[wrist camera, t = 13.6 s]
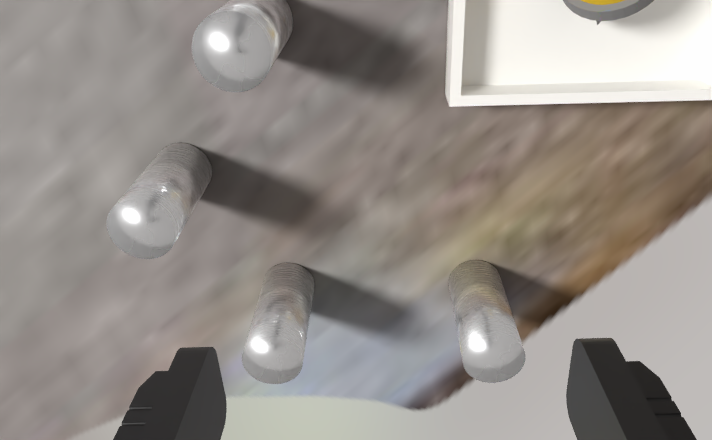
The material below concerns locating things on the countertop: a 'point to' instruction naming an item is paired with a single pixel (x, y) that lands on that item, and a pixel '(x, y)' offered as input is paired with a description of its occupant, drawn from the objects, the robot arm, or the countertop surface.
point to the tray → (576, 53)
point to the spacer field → (286, 280)
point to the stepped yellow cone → (606, 8)
